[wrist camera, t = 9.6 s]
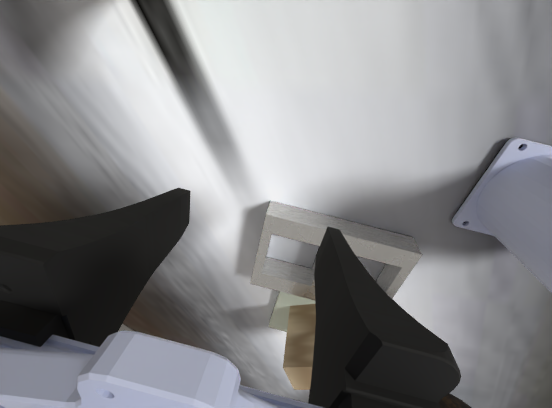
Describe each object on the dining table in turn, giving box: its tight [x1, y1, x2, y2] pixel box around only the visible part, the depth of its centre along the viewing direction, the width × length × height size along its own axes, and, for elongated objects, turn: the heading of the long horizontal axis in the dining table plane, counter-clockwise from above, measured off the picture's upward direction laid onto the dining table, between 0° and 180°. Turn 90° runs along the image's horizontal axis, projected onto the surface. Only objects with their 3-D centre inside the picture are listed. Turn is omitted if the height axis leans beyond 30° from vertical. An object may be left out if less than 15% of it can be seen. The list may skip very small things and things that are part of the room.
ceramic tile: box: [269, 291, 315, 332], centre depth 31 cm, size 9×8×1 cm
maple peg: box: [283, 304, 316, 390], centre depth 27 cm, size 4×4×7 cm
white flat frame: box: [250, 201, 422, 301], centre depth 25 cm, size 14×9×2 cm, turn 78°
